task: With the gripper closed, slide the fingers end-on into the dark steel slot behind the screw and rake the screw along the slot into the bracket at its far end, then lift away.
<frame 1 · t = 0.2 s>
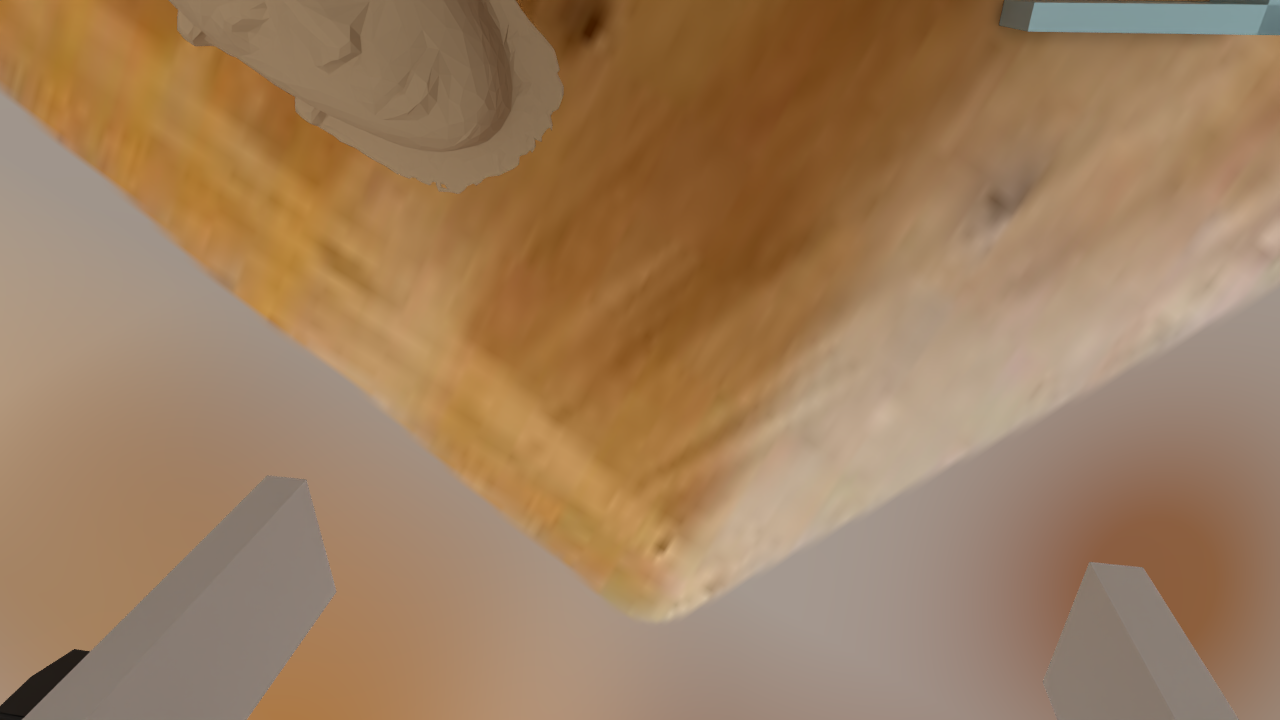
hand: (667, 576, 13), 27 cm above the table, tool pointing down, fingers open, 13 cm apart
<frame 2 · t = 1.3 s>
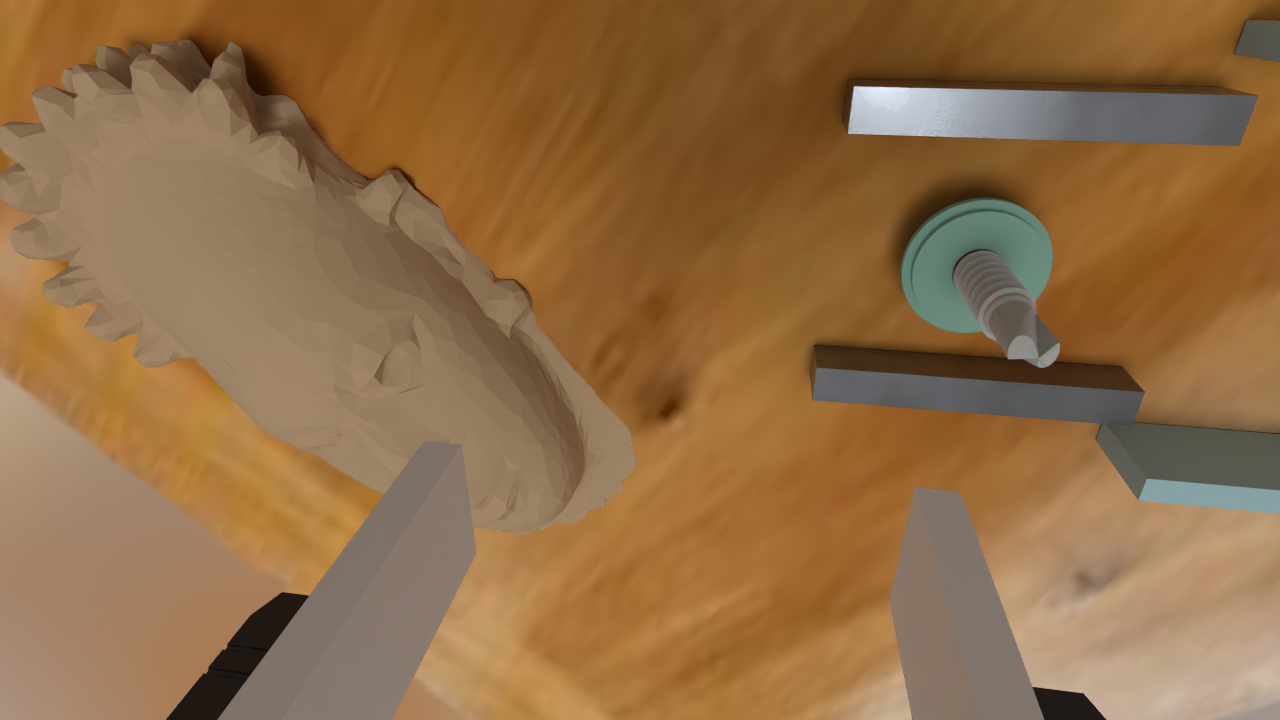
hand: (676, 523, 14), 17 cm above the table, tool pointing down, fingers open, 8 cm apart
slot: (988, 250, 27), on the table
screw: (959, 247, 28), on the table
mask: (377, 324, 34), on the table
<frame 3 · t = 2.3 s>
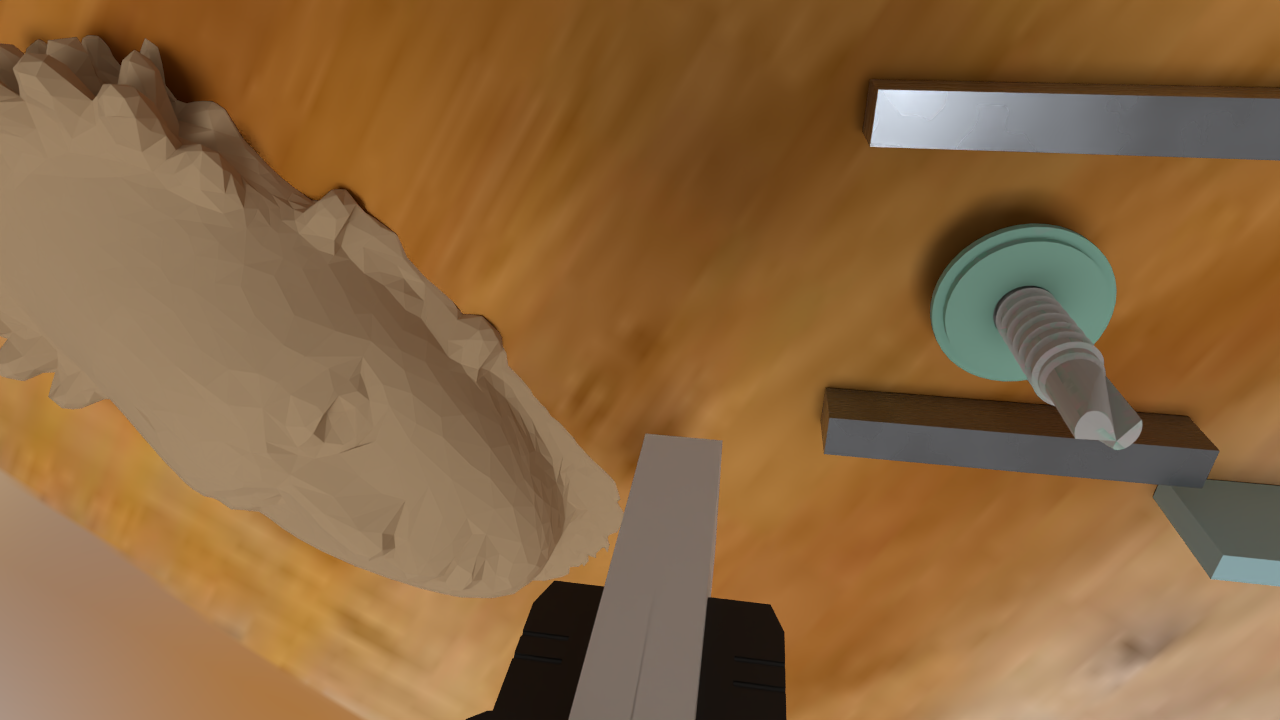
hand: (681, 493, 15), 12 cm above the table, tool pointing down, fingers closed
slot: (1034, 282, 23), on the table
screw: (999, 277, 23), on the table
mask: (330, 360, 30), on the table
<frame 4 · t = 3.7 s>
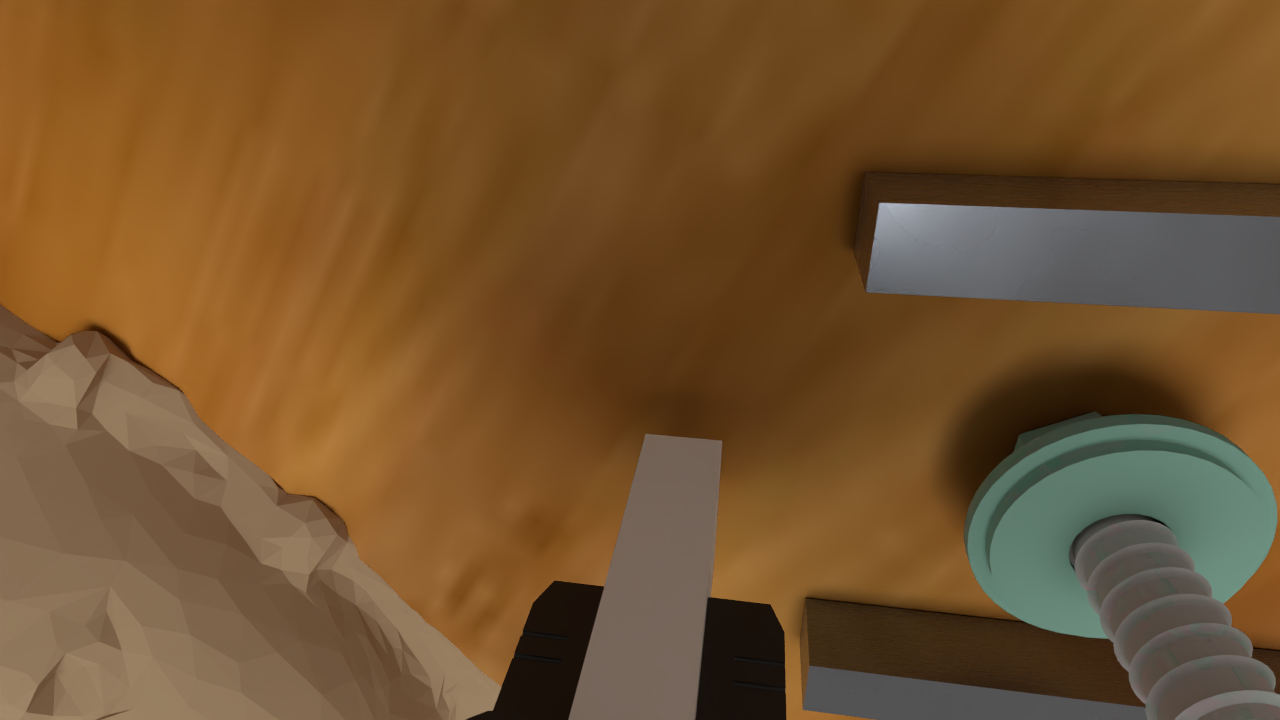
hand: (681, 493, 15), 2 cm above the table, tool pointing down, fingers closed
slot: (1123, 472, 15), on the table
screw: (1068, 462, 15), on the table
mask: (128, 537, 22), on the table
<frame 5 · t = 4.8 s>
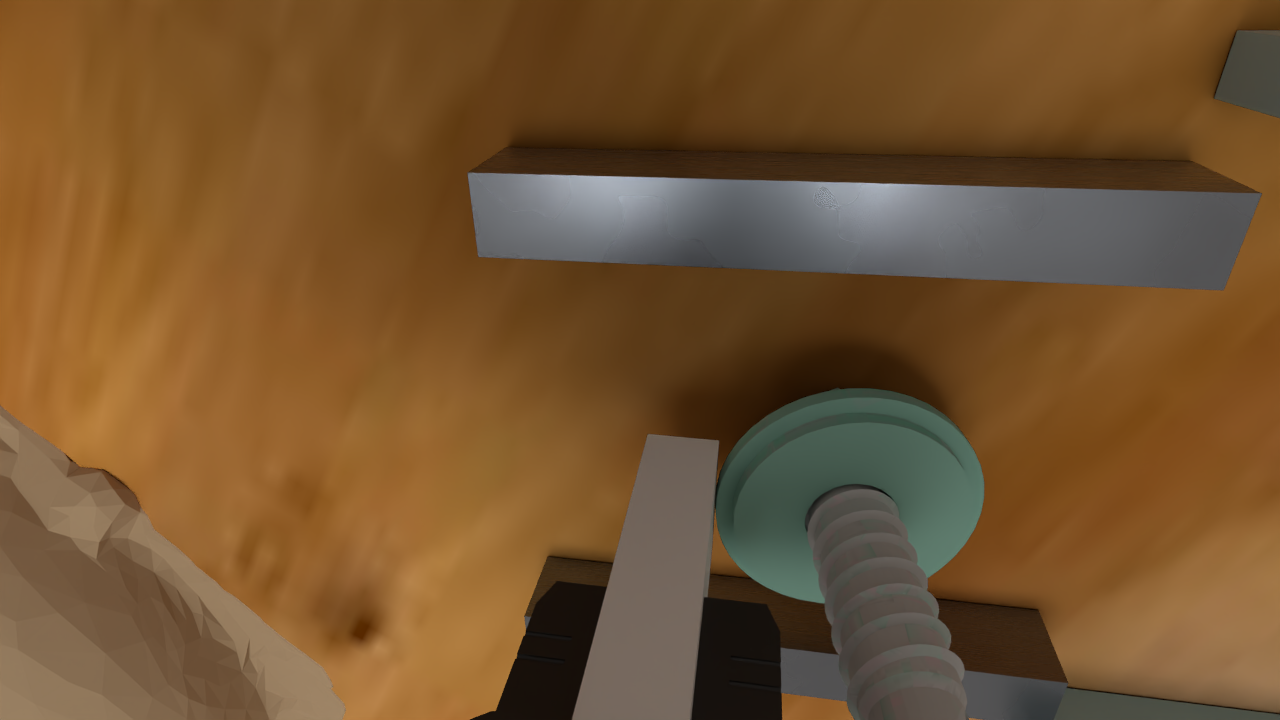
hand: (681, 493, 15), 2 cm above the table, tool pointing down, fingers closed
slot: (796, 431, 16), on the table
screw: (824, 437, 16), on the table, touching gripper
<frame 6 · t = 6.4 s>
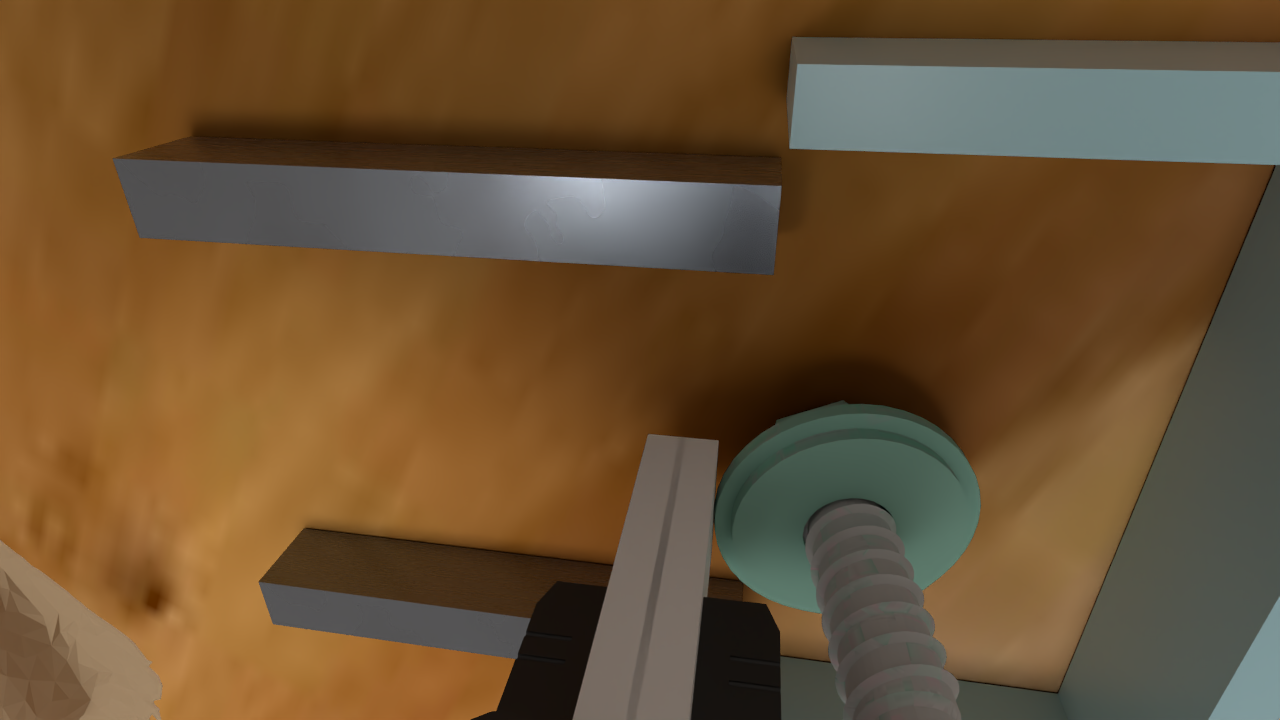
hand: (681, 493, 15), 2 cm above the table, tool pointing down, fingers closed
bracket: (971, 451, 15), on the table
slot: (496, 408, 17), on the table
screw: (822, 447, 16), on the table, touching gripper
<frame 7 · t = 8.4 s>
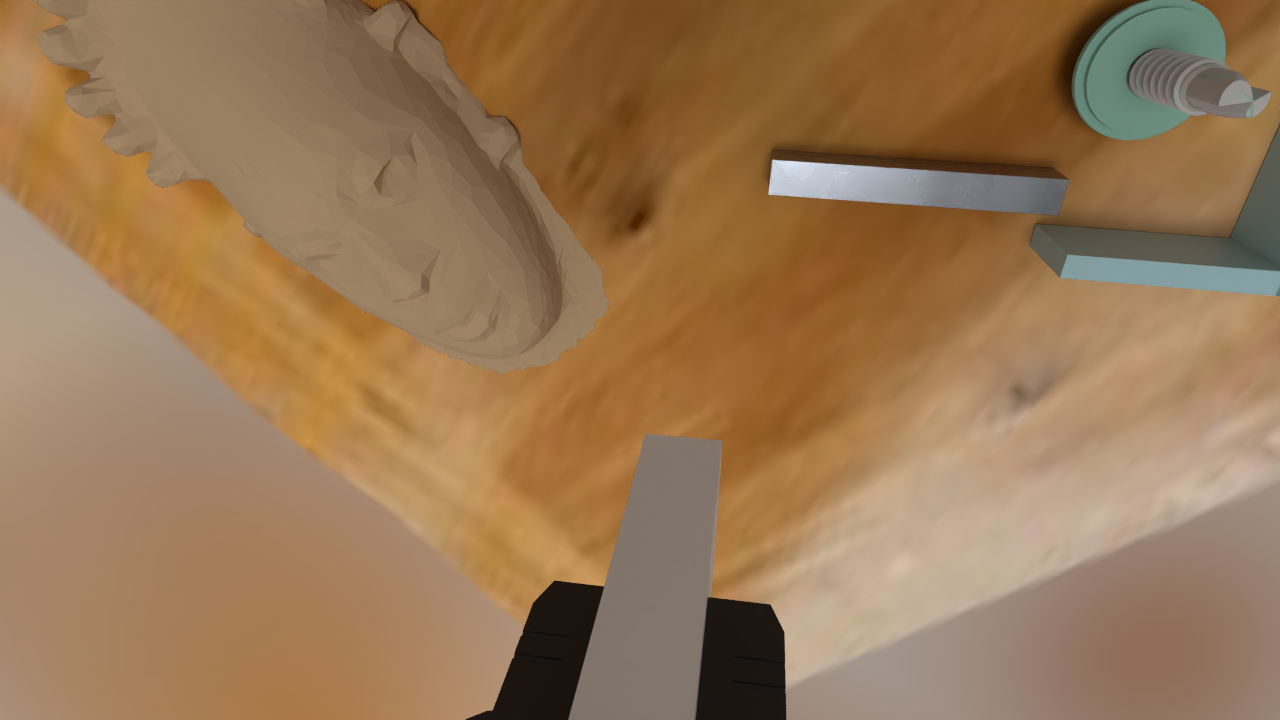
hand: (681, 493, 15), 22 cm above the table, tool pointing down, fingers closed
bracket: (1208, 61, 29), on the table
slot: (932, 48, 30), on the table
screw: (1121, 64, 29), on the table
mask: (376, 161, 37), on the table
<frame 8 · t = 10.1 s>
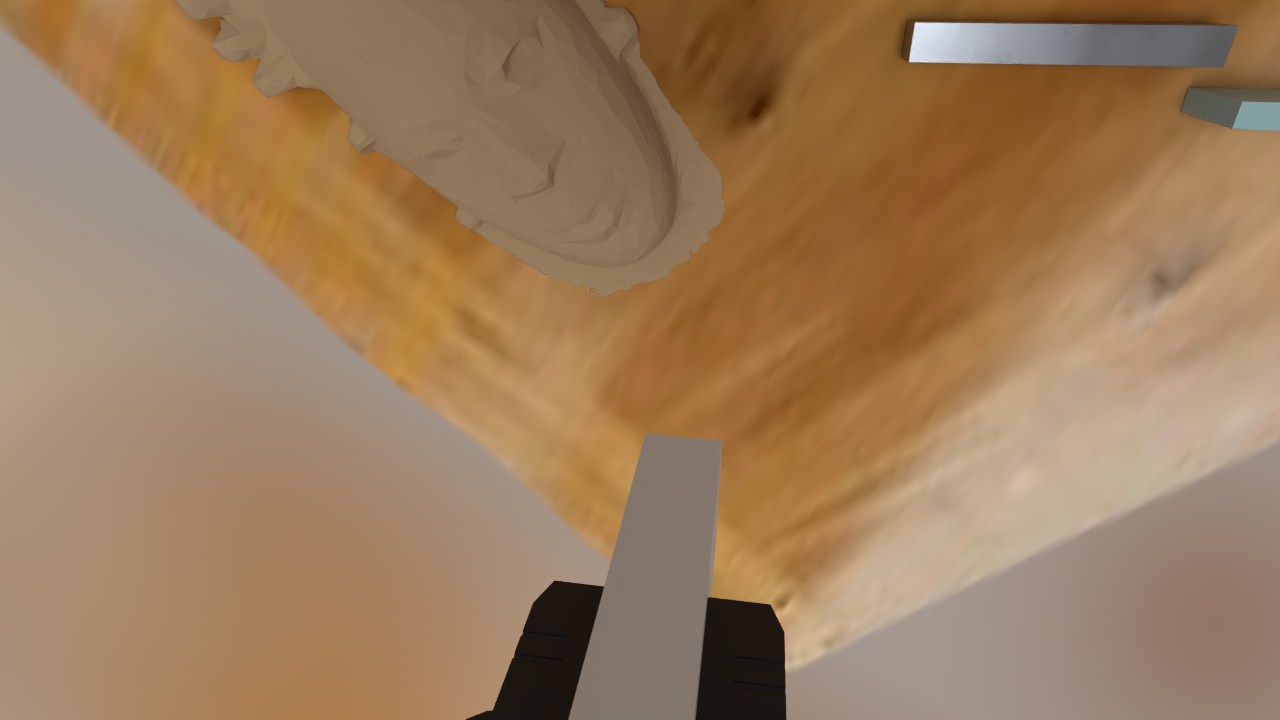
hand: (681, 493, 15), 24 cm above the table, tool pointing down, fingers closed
mask: (483, 67, 36), on the table
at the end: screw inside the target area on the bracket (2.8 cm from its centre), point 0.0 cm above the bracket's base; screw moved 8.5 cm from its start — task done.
